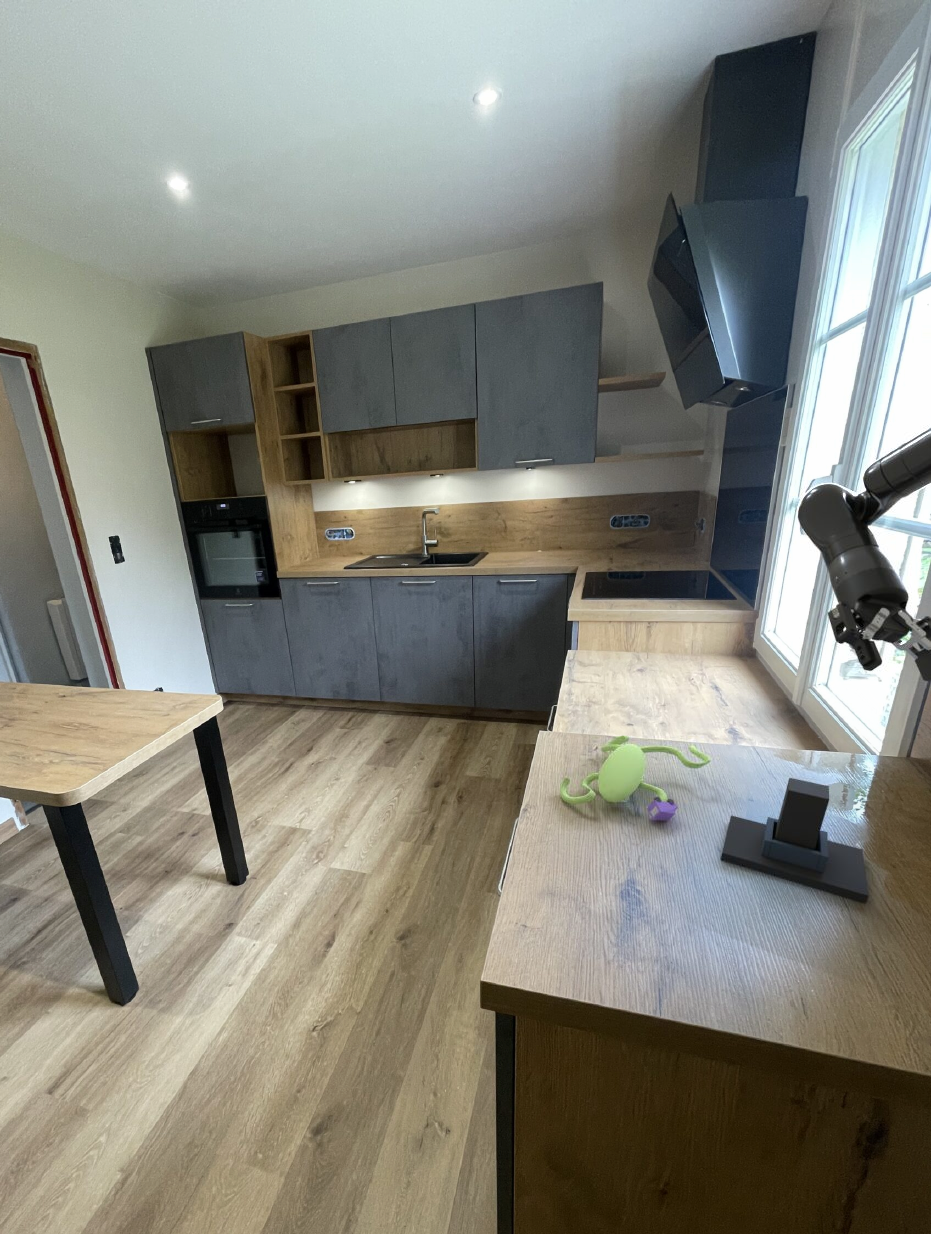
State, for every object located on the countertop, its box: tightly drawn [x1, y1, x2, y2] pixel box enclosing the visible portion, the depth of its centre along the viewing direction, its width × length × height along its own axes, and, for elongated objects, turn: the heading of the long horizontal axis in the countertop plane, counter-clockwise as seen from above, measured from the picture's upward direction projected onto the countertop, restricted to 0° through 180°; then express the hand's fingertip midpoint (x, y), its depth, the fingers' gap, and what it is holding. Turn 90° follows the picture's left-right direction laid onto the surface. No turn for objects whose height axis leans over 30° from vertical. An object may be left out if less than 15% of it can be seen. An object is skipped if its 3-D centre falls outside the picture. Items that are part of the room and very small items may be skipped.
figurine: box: [559, 735, 711, 822], centre depth 95 cm, size 18×27×6 cm
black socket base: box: [720, 814, 869, 904], centre depth 76 cm, size 16×11×4 cm
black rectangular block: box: [773, 777, 830, 850], centre depth 75 cm, size 4×4×10 cm
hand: (904, 672), depth 73 cm, fingers open, 8 cm apart
